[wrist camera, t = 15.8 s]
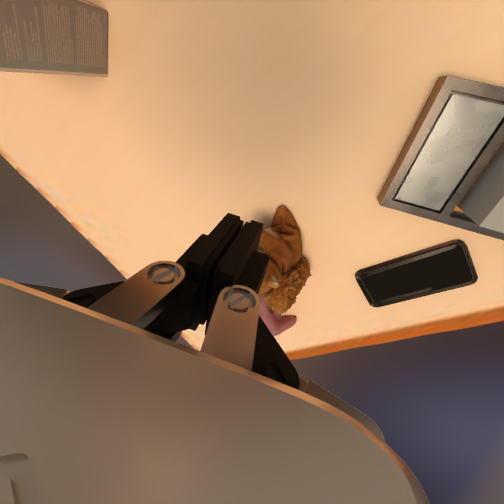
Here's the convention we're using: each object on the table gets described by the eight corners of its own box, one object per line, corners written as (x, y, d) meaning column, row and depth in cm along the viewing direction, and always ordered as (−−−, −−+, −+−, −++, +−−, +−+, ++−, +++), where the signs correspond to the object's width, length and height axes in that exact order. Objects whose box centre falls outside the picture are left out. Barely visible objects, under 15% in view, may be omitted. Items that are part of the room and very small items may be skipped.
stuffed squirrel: (282, 199, 39) (262, 240, 28) (329, 267, 43) (327, 327, 32) (235, 229, 44) (202, 273, 33) (280, 287, 48) (264, 344, 37)
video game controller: (265, 278, 49) (241, 302, 46) (282, 281, 46) (258, 307, 42) (282, 315, 53) (262, 340, 50) (299, 320, 50) (279, 347, 46)
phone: (353, 274, 41) (464, 239, 34) (352, 270, 42) (461, 235, 35) (372, 309, 44) (480, 283, 36) (371, 304, 44) (476, 278, 37)
